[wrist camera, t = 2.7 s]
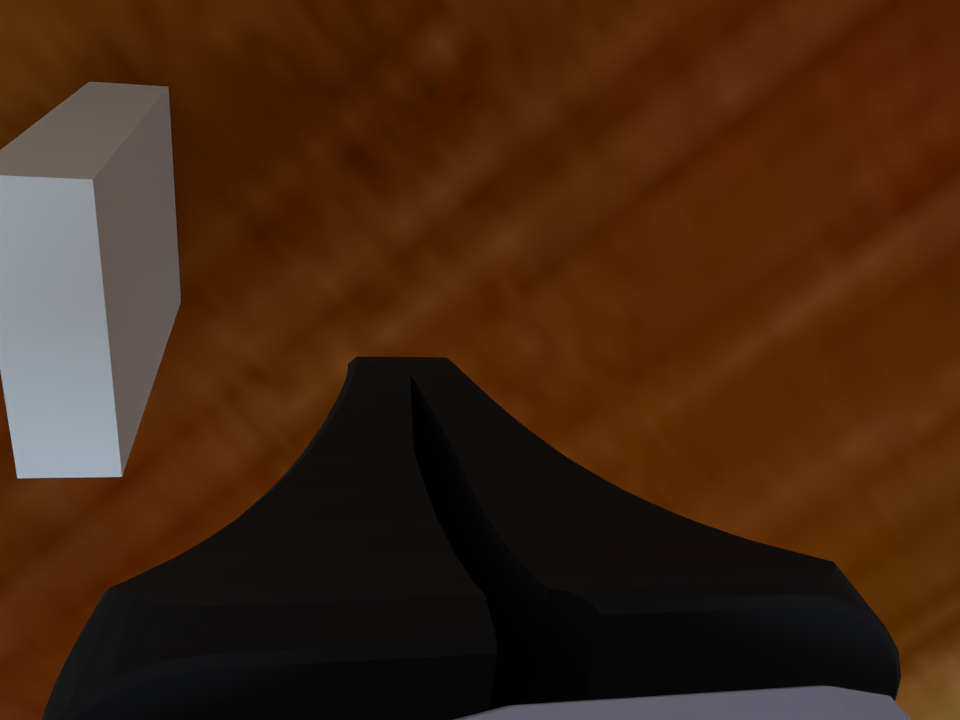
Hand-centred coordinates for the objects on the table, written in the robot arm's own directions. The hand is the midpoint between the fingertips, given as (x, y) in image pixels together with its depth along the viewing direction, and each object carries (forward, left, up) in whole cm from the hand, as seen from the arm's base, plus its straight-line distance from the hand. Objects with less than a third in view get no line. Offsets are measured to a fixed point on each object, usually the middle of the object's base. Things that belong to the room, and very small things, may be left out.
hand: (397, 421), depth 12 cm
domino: (-5, 0, -10) cm, 11 cm away
